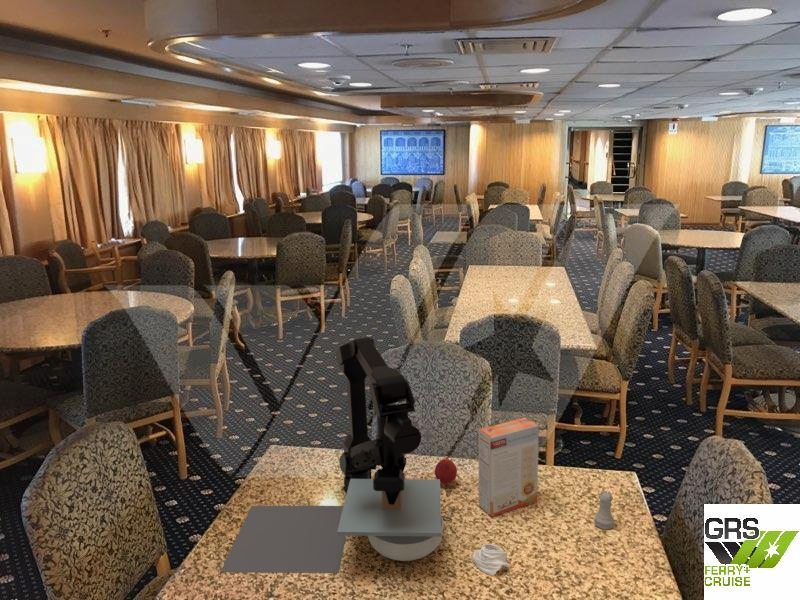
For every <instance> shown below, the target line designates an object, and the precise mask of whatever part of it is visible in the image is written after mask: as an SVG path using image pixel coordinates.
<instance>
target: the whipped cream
mask: <svg viewBox="0 0 800 600" xmlns="http://www.w3.org/2000/svg"><path fill="white" fill-rule="evenodd" d="M507 559H508V553H507V551H504V550H503V549H502V548H501V547H500V546H498V545H495V544H492V543H484V544H482V545H481V548H480V549H478V550H476V551H474V552H473V554H472V560H473V562H474V563H473V564H474V565H475V567H477V568H478V569H479V570H480V571H481V572H483V573H484V574H486V575H489V576H495V575H496V574H497V572H498V571H499V570H500V569H501V568H502V567H507V568H510V566H511V564H510V563H509V562H508V561H507Z"/></svg>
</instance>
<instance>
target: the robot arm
mask: <svg viewBox="0 0 800 600" xmlns="http://www.w3.org/2000/svg"><path fill="white" fill-rule="evenodd" d="M335 359H336V364H337V365H338V369H339V371H340V372H341V373H342V375H343V376H344V377H345V382H346V397H347V398H346V399H347V416H348V435H347V437H346V439H345V440H344V442H343V452H342V453H341V455H340V457H339V459H338V460H339V461H338V462H339V468H340V470H341V472H342V474H343V476H344V477H343V487H342V488H341V490H343V491H344V492H345V493H347V490H348V486H349V482H350V479H373V490H375V491H385V493H386V496H387V499H388V502H389V504H390V505H394V504H395V501H396V499H397V497H398V495H399V492H400V491H403V490H404V484H405V479H406V476H405V474H406V473H405V472H404V471H405V468H406V465H407V457H406V455H408V454H410V453H412V452H415V450H416V449H418V447H419V446H420V444H421V442H422V434H421V431H420V430H419V428H418V427H417V426H415V424H414V423H413V422H412V421H413V420H412V419H411V418H410V417H409V413H414V412H415V411H416V410H415V403H416V401H415V398H414V394H413V391H412V388H411V385H410V383H409V382H408V379H406V377H405V376H404V375H403V374H402V372H400V371H399V370H398V369H395V368H393V367H390V366H389V365H388V364H387V362H386V361H385V359H384V358H383V356H382V355H381V353H380V352H379V350H378V348H377V347H376V345H375V341H374V339H373V337H369V336H367V337H359V338H353V339H352V340H350V341H349V342H348V343H345V344H343V345H340V346H339V347H338V348H337V349H336V352H335ZM367 378H368V379H369V381H370V383H369V395H370V399H371V402H372V405H373V408H374V411H375V413H376V415H375V417H376V435H375V439H371V438H370V437H369V432H368V431H369V430H368V417H367V416H368V414H367V413H368V412H367V398H366V397H367V396H366V395H367V394H366V379H367ZM401 402H405V403H401ZM397 403H399V404H397ZM378 466H380V467H381V468H379V469H377V467H378ZM373 470H376V471H375V472H374V474H373V478H372V471H373Z"/></svg>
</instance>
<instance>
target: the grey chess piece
mask: <svg viewBox="0 0 800 600" xmlns="http://www.w3.org/2000/svg"><path fill="white" fill-rule="evenodd" d="M597 497H598V499H599V501H598V503H599V504H598V505H599V507H598V512H597V513H596V514H595V516H594V520H593V522H594V525H595V526H596V527H597V528H599V529H602V530H610V529H612V528H613V527H614V526H615V524H614V523H615V520H614V519H615V518H614V517H613V514H612V511H611V506H613V504H612V501H613V500H614V497H613V496H612V493H611V492H610V491H608V492H607V490H602V491H600V492H599V494H598V496H597Z"/></svg>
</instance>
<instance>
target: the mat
mask: <svg viewBox="0 0 800 600" xmlns="http://www.w3.org/2000/svg"><path fill="white" fill-rule="evenodd" d="M343 506H344V505H251V506H250V509H249V510H248V512H247V515H246V516H245V519H244V521H243V523H242V525H241V527H240V529H239V532H238V534H237V535H236V538H235V540H234V541H233V544H232V547H230V551H229V553H228V554H227V557H226V559H225V561H224V563H223V566H222V567H221V570H220V573H249V574H250V573H256V574H257V573H261V574H262V573H263V574H265V573H266V574H268V573H269V574H270V573H272V574H274V573H275V574H279V573H281V574H285V573H286V574H339V573H340V569H341V563H342V558H343V552H344V548H345V547H344V546H345V543H346V537H347V536H344V535H337V531H338V527H339V523H340V519H341V515H342V511H343Z"/></svg>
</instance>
